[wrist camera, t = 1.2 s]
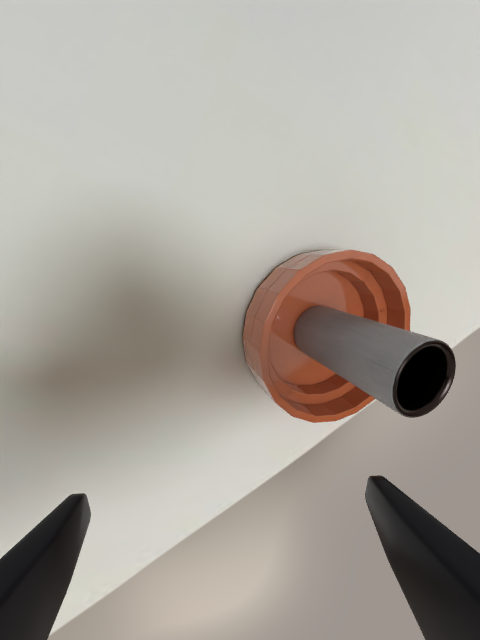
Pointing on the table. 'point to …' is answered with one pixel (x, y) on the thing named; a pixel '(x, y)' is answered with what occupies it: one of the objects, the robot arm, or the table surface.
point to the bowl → (296, 297)
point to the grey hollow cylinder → (379, 358)
